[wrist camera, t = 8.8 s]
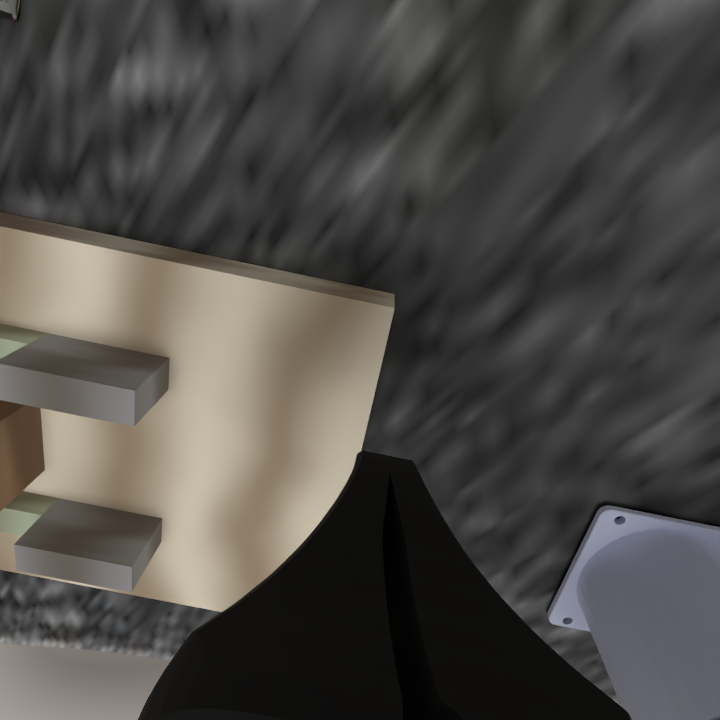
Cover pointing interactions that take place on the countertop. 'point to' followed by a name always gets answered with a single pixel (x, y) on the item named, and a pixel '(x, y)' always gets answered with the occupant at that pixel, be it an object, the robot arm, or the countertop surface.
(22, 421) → the walnut block
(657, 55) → the countertop surface
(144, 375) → the board
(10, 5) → the candy bar box
